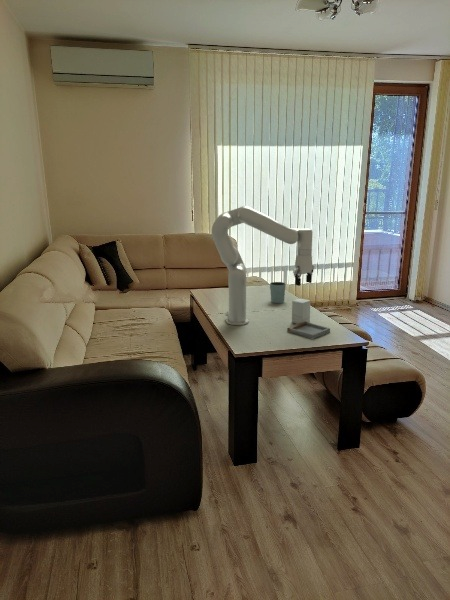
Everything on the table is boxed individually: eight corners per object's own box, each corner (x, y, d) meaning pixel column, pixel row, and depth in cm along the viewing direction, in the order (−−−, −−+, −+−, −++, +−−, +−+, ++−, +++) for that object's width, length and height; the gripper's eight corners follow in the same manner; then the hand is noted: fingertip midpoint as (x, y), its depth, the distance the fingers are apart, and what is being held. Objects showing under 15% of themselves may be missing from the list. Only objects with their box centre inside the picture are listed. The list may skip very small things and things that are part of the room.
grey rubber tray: (290, 332, 224) (290, 328, 223) (307, 325, 234) (307, 322, 233) (312, 339, 214) (313, 335, 213) (330, 331, 224) (330, 328, 223)
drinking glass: (281, 304, 275) (281, 285, 272) (266, 302, 281) (267, 284, 277) (287, 300, 284) (288, 282, 281) (273, 298, 289) (273, 281, 286)
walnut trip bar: (287, 331, 225) (287, 327, 225) (304, 324, 235) (304, 321, 235) (290, 332, 224) (290, 328, 223) (307, 325, 234) (307, 322, 233)
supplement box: (310, 322, 239) (311, 300, 236) (301, 325, 235) (302, 302, 231) (299, 319, 245) (300, 297, 241) (291, 322, 240) (291, 300, 236)
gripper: (308, 249, 237) (307, 280, 241) (288, 253, 225) (287, 285, 230) (319, 251, 232) (318, 282, 236) (300, 254, 220) (299, 287, 225)
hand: (303, 283), depth 233 cm, fingers open, 9 cm apart
